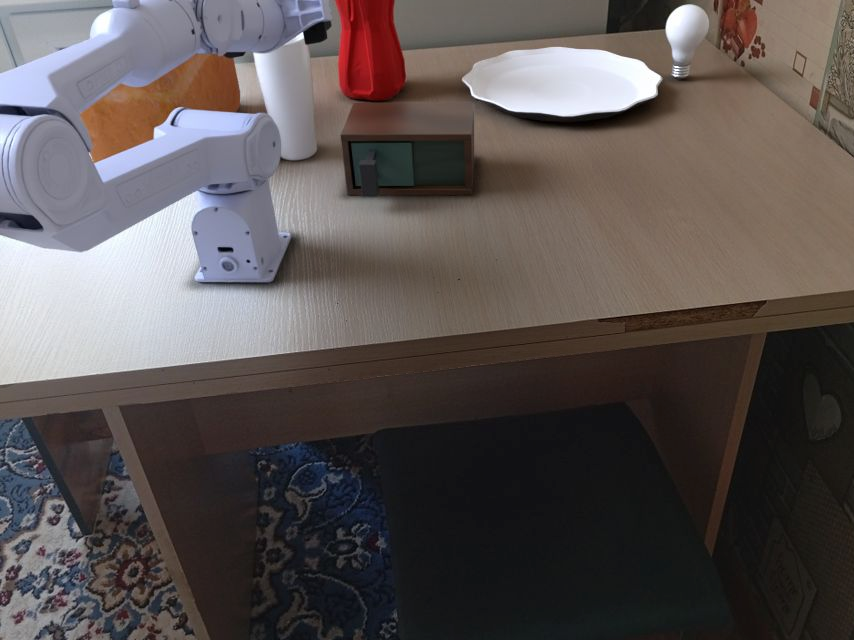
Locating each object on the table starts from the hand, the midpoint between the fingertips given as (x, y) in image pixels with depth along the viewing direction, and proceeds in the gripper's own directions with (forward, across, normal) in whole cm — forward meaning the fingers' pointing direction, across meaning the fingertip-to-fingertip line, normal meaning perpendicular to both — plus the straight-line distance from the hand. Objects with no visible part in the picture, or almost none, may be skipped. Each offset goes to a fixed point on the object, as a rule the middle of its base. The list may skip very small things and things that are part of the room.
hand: (295, 23), depth 88 cm
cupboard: (+7, -9, +19) cm, 22 cm away
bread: (+12, +26, +11) cm, 31 cm away
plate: (+38, -24, +13) cm, 47 cm away
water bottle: (+32, +4, +9) cm, 34 cm away
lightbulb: (+47, -42, +14) cm, 64 cm away
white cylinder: (+10, +8, +15) cm, 20 cm away
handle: (-1, -7, +20) cm, 21 cm away
